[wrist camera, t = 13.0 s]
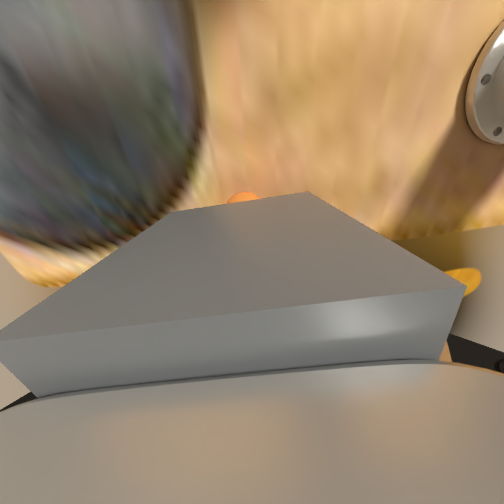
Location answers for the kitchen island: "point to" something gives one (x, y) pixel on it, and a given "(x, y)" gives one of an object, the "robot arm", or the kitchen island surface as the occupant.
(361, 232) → the gray cube
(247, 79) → the kitchen island surface
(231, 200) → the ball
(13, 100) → the kitchen island surface
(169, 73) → the kitchen island surface
